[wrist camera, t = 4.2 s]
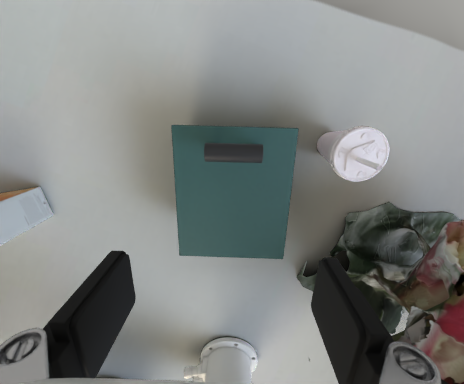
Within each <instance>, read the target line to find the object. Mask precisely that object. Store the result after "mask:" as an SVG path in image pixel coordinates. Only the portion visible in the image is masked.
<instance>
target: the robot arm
mask: <svg viewBox="0 0 464 384" xmlns="http://www.w3.org/2000/svg"><path fill="white" fill-rule="evenodd" d="M134 303H135V291H134V284H133V278H132V272H131V266H130V259H129V255H128V254H126V253H125V252H124V251H111V252H110V253H109V254H108V255H107V256H106V257H105V259H104V260H103V261H102V262H101V263H100V264H99V265H98V266H97V268H96V269H95V270H94V271H93V272H92V273H91V274H90V276H89V277H88V278H87V279H86V280H85V281H84V282H83V284H82V285H81V286H80V287H79V288H78V289H77V290H76V291H75V293H74V294H73V295H72V296H71V297H70V298H69V299H68V301H67V302H66V303H65V304H64V305H63V306H62V307H61V309H60V310H59V311H58V312H57V313H56V314H55V315H54V316H53V318H52V319H51V320H50V321H49V322H48V324H47V325H46V326H45V327H44V328H43V329H40V328H33V329H28V330H25V331H22V332H20V333H18V334H16V335H14V336H12V337H11V338H9V339H8V340H6V341H5V342H4V343H3V344H1V345H0V384H252V382H251V374H252V373H253V372H254V370H255V369H256V367H257V354H256V351H255V349H254V348H253V347H252V346H251V345H250V344H249V343H247V342H245V341H243V340H241V339H238V338H232V337H225V338H219V339H215V340H213V341H211V342H209V343H208V344H207V345H206V346H205V347H204V348H203V350H202V352H201V357H200V363H199V364H198V366H191V367H185V368H184V378H185V379H186V378H192V377H193V381H173V380H143V379H113V378H95V377H96V376H97V374H98V372H99V370H100V368H101V366H102V364H103V363H104V361H105V359H106V357H107V355H108V353H109V351H110V349H111V347H112V345H113V343H114V342H115V340H116V338H117V336H118V334H119V332H120V330H121V328H122V326H123V324H124V323H125V321H126V319H127V317H128V315H129V313H130V311H131V309H132V307H133V305H134ZM311 308H312V312H313V315H314V317H315V320H316V323H317V326H318V328H319V331H320V334H321V336H322V339H323V342H324V345H325V347H326V350H327V353H328V355H329V358H330V361H331V364H332V366H333V369H334V372H335V374H336V377H337V380H338V383H339V384H449V383H447V382H446V381H444V380H442V379H441V375H440V371H439V369H438V368H437V366H436V364H435V363H434V362H433V361H432V359H431V358H430V357H429V356H427V355H426V354H425V353H424V352H423V351H421V350H420V349H418V348H417V347H415V346H413V345H410V344H408V343H405V342H395V341H394V340H393V338H392V337H391V335H390V334H389V332H388V331H387V329H386V328H385V326H384V325H383V323H382V322H381V320H380V319H379V317H378V316H377V314H376V313H375V311H374V310H373V308H372V307H371V305H370V304H369V302H368V301H367V299H366V298H365V297H364V295H363V294H362V292H361V291H360V290H359V289H358V288H357V287H355V285H354V284H353V282H352V281H351V279H350V278H349V276H348V275H347V273H346V271H345V270H344V268H343V267H342V265H341V264H340V262H339V261H338V260H337V259H336V258H323V260H322V261H319V264H318V269H317V275H316V280H315V286H314V291H313V296H312V302H311Z"/></svg>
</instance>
